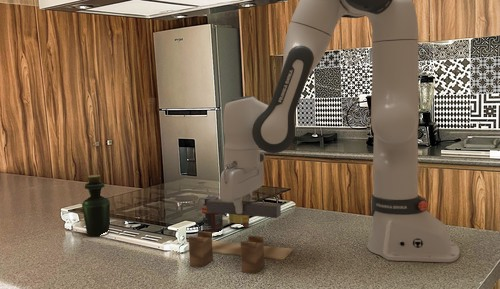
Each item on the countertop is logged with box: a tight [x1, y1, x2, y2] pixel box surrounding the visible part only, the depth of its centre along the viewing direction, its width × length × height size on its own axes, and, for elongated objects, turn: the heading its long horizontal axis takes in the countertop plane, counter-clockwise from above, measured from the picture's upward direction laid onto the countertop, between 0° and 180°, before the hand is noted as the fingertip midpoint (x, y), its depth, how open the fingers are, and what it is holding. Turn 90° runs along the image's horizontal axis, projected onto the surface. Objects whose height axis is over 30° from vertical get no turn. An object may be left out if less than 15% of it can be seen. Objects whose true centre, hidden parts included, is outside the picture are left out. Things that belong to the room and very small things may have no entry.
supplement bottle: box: [201, 195, 224, 232], centre depth 150 cm, size 6×6×11 cm
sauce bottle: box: [228, 196, 250, 228], centre depth 157 cm, size 7×6×20 cm
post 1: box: [188, 230, 214, 268], centre depth 127 cm, size 4×5×7 cm, turn 157°
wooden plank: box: [212, 240, 294, 261], centre depth 135 cm, size 24×8×1 cm, turn 67°
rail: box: [206, 198, 282, 219], centre depth 133 cm, size 20×3×3 cm, turn 67°
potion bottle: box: [81, 174, 111, 238], centre depth 155 cm, size 8×8×18 cm
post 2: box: [240, 235, 265, 274], centre depth 121 cm, size 4×5×7 cm, turn 157°
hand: (243, 211), depth 134 cm, fingers closed on rail, 3 cm apart
